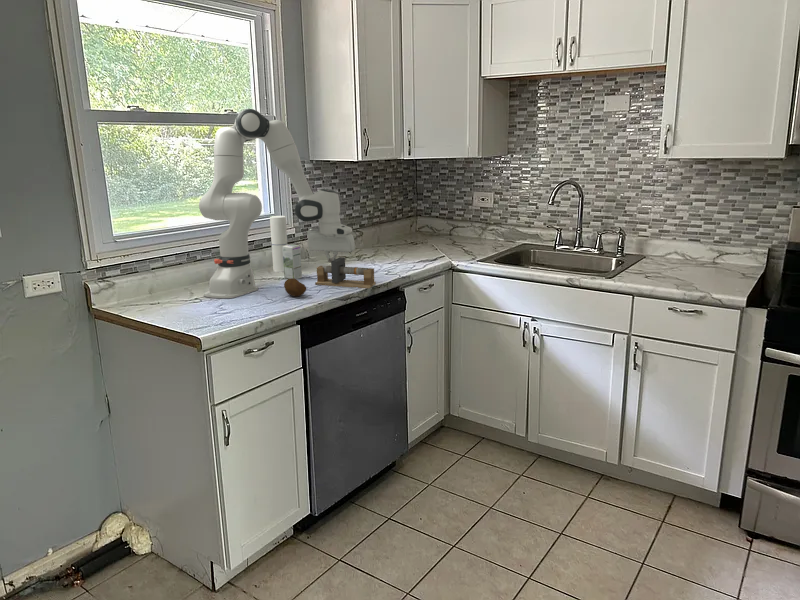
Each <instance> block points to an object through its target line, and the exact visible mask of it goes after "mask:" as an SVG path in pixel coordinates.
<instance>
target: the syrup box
mask: <svg viewBox="0 0 800 600" xmlns="http://www.w3.org/2000/svg"><path fill="white" fill-rule="evenodd" d="M282 250H283V264H284V272H283V276H284V279H286V280H288V279H291V278H294V279H296V280H298V279H301V278H303V272H302V271H303V269H302V258H301V257H302V254H301V245H299V244H298V245H296V244H287V245H285V246H282Z"/></svg>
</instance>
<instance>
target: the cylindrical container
mask: <svg viewBox="0 0 800 600" xmlns="http://www.w3.org/2000/svg"><path fill="white" fill-rule="evenodd" d="M269 225H270V237H271V238H270V240H271V241H270V242H271V243H270V244H271V253H272V254H271V256H272V267H273V268H272V269H273V270H272V271H273V272H274V273H284V264H283V250H282V246H285V245H288V233H287V218H286V216H285V215H273V216H272V215H271V216H269Z"/></svg>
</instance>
